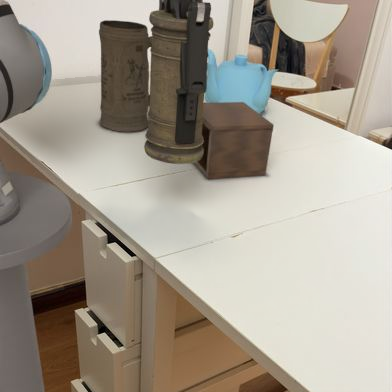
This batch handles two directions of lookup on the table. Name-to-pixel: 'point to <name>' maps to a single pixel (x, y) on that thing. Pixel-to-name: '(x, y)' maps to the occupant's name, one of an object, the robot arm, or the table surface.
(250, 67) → the teapot
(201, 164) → the shelf
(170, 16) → the container
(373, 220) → the table surface
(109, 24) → the beer stein
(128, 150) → the table surface
